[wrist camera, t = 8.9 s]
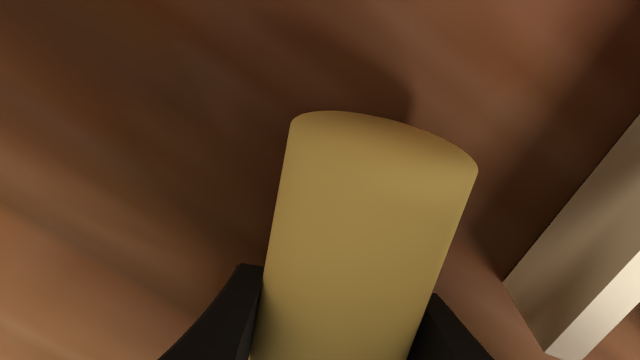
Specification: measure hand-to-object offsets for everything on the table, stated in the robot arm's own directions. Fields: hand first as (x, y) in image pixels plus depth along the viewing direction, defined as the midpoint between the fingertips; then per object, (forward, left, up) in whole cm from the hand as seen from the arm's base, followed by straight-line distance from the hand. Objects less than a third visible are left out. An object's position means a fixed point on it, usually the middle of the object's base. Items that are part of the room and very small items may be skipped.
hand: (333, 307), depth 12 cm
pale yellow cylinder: (0, 0, 0) cm, 0 cm away
